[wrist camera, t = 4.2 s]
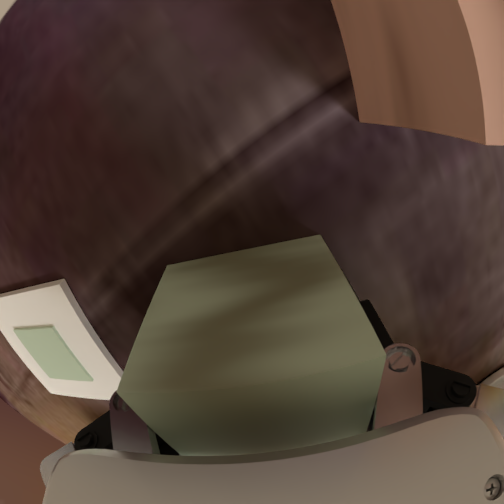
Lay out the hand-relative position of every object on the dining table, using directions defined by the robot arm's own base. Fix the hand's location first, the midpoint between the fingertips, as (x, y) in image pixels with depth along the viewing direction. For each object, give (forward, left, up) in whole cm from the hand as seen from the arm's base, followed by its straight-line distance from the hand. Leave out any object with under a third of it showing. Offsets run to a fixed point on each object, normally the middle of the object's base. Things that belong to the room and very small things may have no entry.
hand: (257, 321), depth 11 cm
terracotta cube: (-8, -10, -1) cm, 13 cm away
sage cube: (0, 0, -1) cm, 1 cm away
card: (+13, +1, -1) cm, 13 cm away
